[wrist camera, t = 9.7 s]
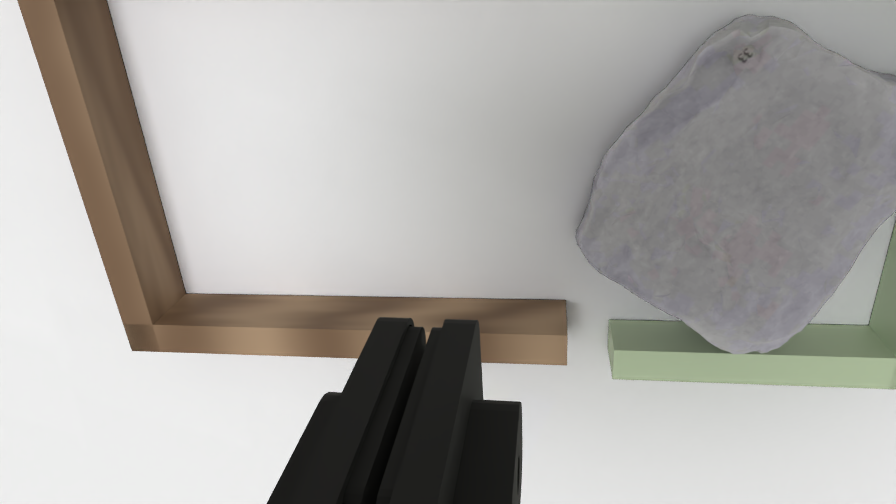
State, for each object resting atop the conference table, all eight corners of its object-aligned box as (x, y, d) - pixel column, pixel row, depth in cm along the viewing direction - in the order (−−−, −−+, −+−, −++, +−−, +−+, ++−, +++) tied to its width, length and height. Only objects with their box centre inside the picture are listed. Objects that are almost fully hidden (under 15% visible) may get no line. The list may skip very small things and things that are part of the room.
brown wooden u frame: (574, -112, 22) (577, -121, 19) (565, 327, 29) (566, 365, 27) (53, -68, 25) (-6, -71, 22) (166, 318, 33) (131, 350, 30)
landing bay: (1055, -189, 19) (1122, -208, 17) (898, 355, 28) (929, 390, 25) (635, -150, 21) (645, -163, 19) (607, 346, 30) (612, 379, 27)
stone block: (558, 230, 30) (752, 340, 28) (541, 261, 25) (769, 393, 24) (706, -19, 25) (948, 101, 23) (716, -32, 20) (1013, 114, 19)
